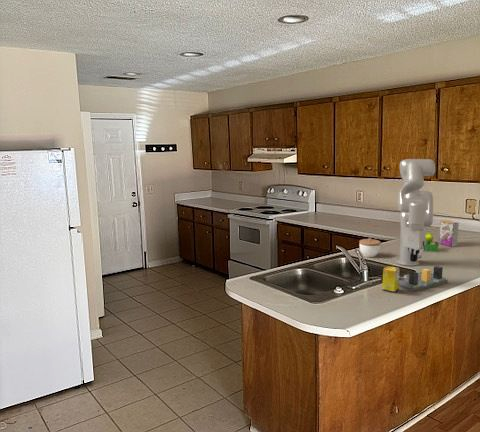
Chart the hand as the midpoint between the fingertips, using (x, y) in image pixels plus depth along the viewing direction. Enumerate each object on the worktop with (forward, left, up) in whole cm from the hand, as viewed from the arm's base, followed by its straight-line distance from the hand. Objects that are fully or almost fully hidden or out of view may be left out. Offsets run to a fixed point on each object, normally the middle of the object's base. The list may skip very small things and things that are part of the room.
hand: (413, 260), depth 225 cm
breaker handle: (+1, +9, -9) cm, 12 cm away
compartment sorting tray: (+1, +5, -10) cm, 11 cm away
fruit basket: (-58, -35, -11) cm, 69 cm away
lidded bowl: (-16, -45, -11) cm, 49 cm away
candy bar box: (-80, -37, -11) cm, 89 cm away
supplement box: (+21, +5, -11) cm, 24 cm away
